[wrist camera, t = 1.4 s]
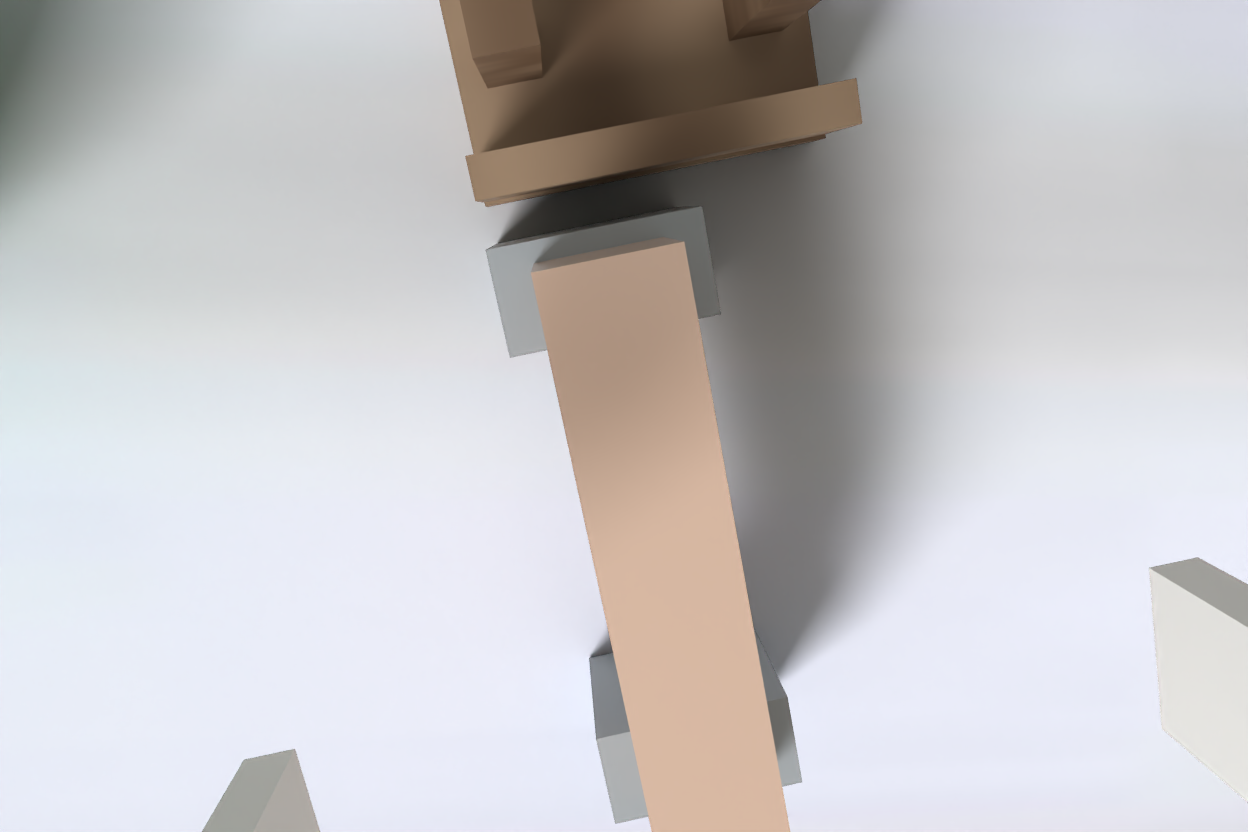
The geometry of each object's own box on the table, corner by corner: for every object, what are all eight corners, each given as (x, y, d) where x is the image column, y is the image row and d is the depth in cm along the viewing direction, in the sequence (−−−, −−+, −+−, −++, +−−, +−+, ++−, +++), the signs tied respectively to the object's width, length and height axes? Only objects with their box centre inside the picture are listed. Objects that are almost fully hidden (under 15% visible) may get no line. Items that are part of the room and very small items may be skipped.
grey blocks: (605, 731, 29) (615, 823, 25) (496, 244, 26) (485, 249, 21) (764, 696, 29) (802, 781, 25) (676, 207, 26) (702, 206, 21)
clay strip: (649, 798, 25) (665, 893, 21) (534, 262, 21) (530, 272, 18) (761, 773, 25) (795, 863, 21) (663, 237, 22) (684, 241, 18)
